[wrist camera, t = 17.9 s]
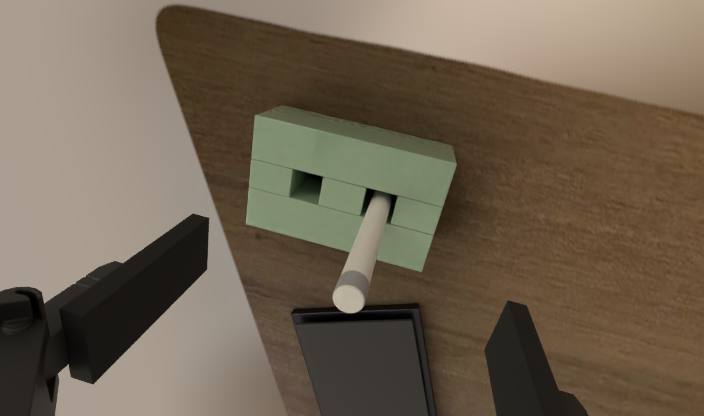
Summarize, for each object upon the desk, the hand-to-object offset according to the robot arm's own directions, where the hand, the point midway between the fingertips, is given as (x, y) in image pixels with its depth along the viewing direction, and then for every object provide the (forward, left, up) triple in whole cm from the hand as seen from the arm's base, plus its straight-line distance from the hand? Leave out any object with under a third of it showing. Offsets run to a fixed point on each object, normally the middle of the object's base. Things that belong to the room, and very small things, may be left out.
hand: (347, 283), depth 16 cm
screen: (+15, -15, -14) cm, 25 cm away
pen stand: (-2, -2, -15) cm, 15 cm away
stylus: (+1, 0, -15) cm, 15 cm away
